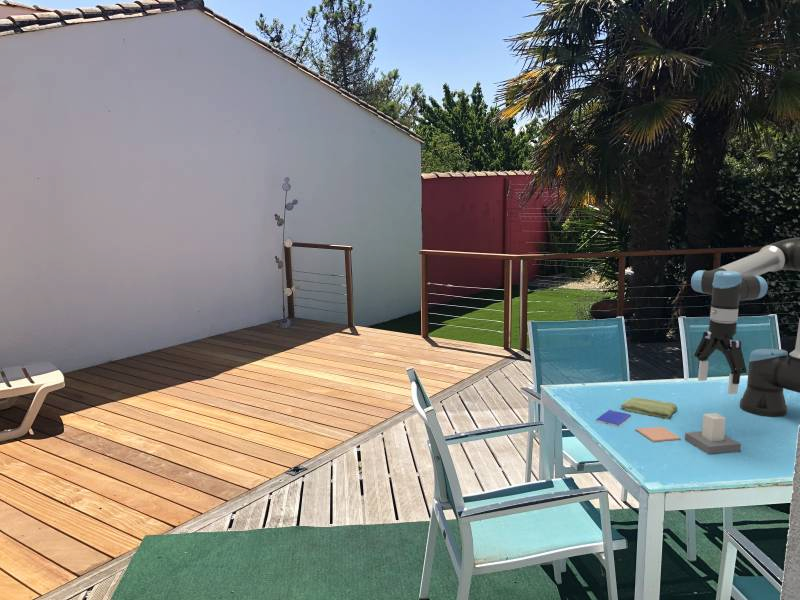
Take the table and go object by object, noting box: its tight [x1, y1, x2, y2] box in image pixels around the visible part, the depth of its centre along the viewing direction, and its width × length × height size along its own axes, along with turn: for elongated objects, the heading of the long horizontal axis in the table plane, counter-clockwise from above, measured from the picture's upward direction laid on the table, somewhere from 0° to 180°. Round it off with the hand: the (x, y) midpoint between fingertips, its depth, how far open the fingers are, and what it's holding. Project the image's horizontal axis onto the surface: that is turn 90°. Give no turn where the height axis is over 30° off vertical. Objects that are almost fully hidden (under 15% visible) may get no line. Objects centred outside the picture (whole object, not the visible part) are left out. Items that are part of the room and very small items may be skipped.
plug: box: [701, 412, 727, 442], centre depth 191 cm, size 4×4×10 cm
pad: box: [635, 426, 681, 443], centre depth 200 cm, size 10×10×1 cm
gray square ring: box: [684, 430, 742, 455], centre depth 192 cm, size 11×11×2 cm
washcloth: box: [620, 397, 678, 420], centre depth 224 cm, size 13×18×3 cm
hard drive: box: [594, 409, 632, 428], centre depth 215 cm, size 2×8×12 cm
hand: (716, 386), depth 188 cm, fingers open, 13 cm apart
